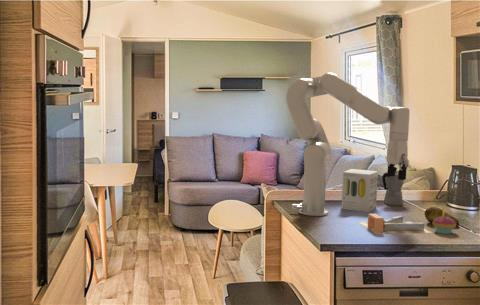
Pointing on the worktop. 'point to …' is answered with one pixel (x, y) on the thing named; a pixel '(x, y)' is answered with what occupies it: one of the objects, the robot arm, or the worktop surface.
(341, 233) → the worktop surface
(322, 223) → the worktop surface
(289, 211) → the worktop surface
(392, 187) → the coffeepot
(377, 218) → the lock collar
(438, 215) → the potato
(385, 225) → the fixed jaw
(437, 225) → the cupcake
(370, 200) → the supplement box
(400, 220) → the jaw
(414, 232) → the board
